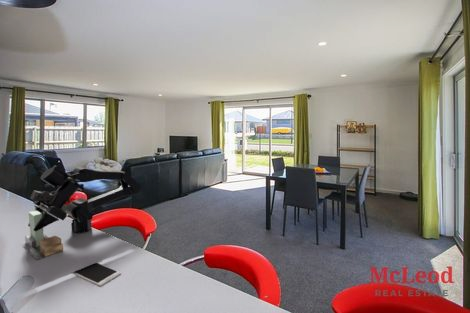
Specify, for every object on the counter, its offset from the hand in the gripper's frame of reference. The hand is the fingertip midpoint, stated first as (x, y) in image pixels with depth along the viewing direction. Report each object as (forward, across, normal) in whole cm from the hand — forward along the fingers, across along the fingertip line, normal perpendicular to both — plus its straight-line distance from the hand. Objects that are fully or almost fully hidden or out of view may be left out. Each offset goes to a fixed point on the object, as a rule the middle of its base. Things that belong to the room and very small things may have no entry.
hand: (31, 228), depth 91 cm
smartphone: (+1, +34, +11) cm, 36 cm away
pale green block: (+4, 0, +6) cm, 7 cm away
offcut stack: (+3, +11, +6) cm, 13 cm away
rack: (+4, +5, +6) cm, 9 cm away
